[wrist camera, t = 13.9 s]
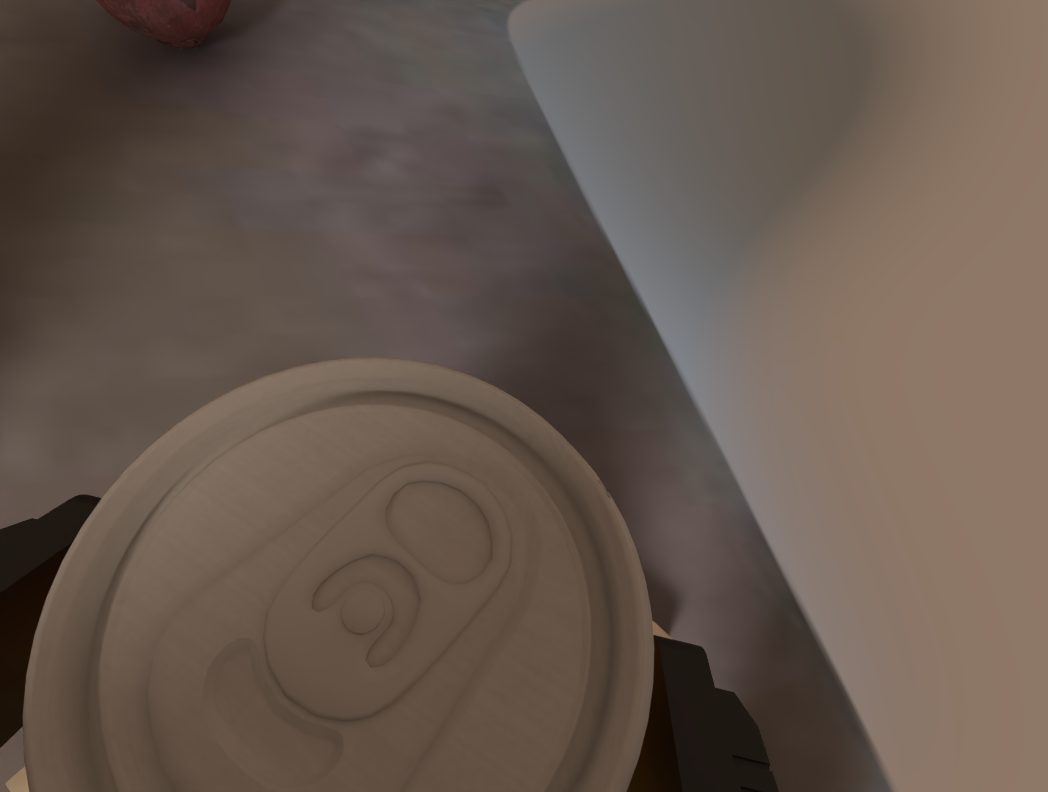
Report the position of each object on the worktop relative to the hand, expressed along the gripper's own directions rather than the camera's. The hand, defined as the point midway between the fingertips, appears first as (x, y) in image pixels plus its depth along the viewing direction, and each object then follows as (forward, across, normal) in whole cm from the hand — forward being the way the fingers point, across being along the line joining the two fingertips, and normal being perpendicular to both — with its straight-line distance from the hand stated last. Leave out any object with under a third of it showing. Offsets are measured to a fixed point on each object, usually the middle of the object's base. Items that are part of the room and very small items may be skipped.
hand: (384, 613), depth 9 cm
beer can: (+8, 0, +8) cm, 11 cm away
